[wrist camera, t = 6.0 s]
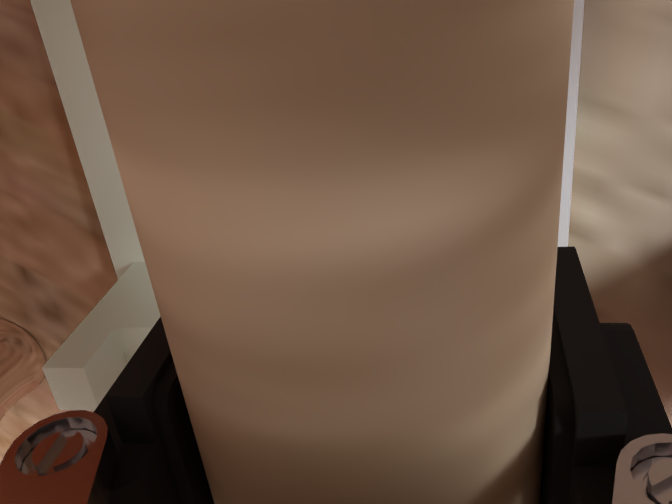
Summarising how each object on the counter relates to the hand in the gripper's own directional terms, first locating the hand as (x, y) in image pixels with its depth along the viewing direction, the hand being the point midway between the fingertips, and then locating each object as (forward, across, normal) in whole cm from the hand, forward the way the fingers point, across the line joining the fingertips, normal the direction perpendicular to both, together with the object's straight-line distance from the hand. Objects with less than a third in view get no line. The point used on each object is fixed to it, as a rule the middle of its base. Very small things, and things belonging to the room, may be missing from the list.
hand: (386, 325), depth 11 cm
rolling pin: (0, -1, 0) cm, 1 cm away
